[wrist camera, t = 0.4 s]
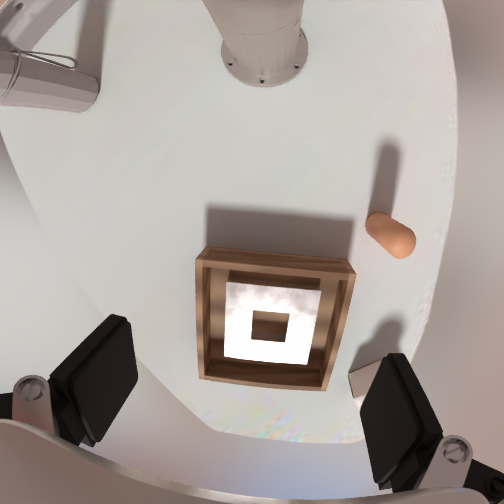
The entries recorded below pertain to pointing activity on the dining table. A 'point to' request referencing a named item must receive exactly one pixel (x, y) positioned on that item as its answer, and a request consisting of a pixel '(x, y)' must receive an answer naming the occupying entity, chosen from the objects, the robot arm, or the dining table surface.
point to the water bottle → (44, 83)
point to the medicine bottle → (362, 382)
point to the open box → (270, 316)
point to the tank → (29, 22)
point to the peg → (391, 235)
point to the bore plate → (272, 300)
